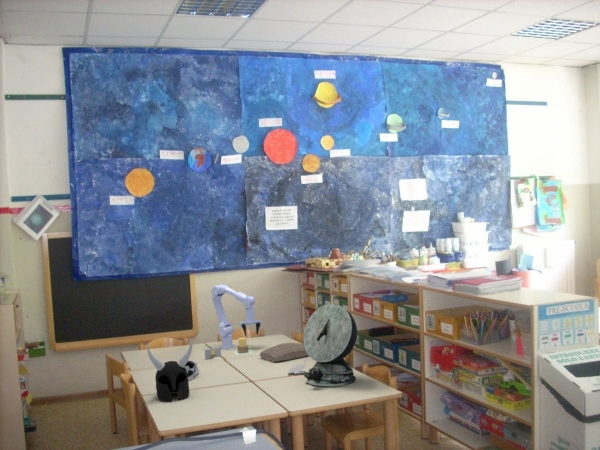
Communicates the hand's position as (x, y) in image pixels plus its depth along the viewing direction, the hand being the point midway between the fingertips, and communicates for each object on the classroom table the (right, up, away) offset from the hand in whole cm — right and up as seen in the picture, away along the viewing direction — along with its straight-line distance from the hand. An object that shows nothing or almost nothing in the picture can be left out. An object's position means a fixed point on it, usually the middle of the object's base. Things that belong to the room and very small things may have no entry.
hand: (251, 335), depth 412 cm
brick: (-5, -6, -7) cm, 10 cm away
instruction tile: (-23, -12, -15) cm, 30 cm away
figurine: (+33, -10, -68) cm, 76 cm away
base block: (-5, -10, -6) cm, 13 cm away
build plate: (-5, -11, -6) cm, 13 cm away
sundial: (+48, -9, -89) cm, 102 cm away
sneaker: (-31, -14, -58) cm, 67 cm away
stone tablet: (+25, -10, -24) cm, 36 cm away
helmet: (-32, -14, -96) cm, 103 cm away
